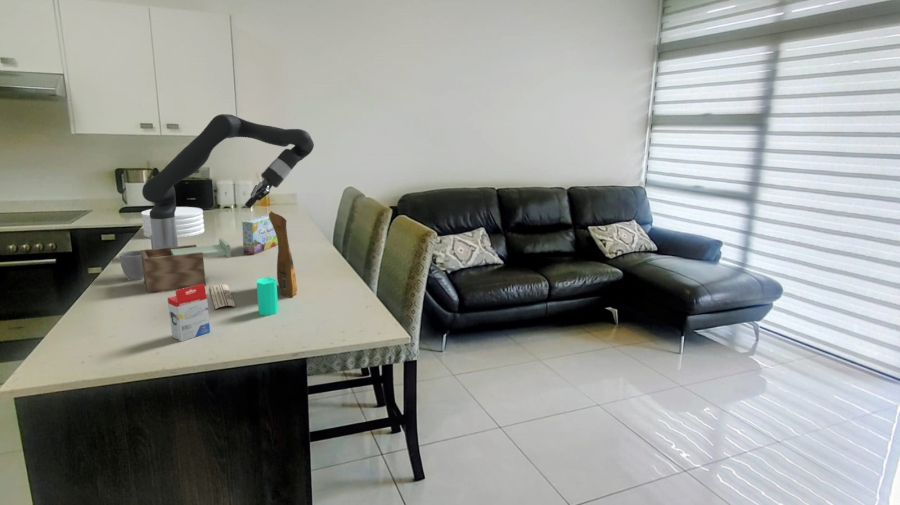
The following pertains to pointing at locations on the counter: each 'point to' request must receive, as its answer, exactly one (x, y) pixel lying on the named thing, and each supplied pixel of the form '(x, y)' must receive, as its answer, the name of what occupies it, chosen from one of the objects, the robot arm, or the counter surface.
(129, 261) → the mug
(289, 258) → the pancake mix bag
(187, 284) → the box
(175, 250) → the lid
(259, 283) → the candle
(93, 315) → the counter surface
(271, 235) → the snack box
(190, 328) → the ink box
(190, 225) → the plate stack
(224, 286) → the newspaper
